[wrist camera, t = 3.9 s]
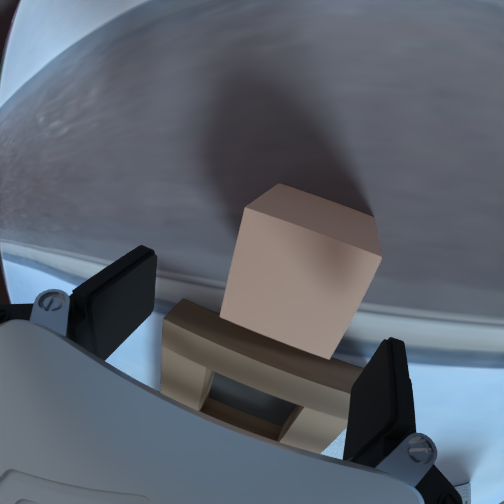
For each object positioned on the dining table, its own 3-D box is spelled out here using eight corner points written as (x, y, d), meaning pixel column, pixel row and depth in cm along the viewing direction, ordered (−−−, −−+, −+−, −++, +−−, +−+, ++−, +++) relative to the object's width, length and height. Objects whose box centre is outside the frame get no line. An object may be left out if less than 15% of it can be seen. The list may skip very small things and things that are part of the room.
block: (279, 182, 18) (244, 207, 12) (374, 217, 16) (382, 257, 11) (255, 267, 20) (219, 316, 15) (339, 299, 19) (329, 359, 14)
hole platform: (182, 298, 23) (160, 320, 21) (372, 371, 20) (370, 403, 18) (172, 430, 34) (160, 447, 32) (280, 475, 31) (273, 495, 29)
